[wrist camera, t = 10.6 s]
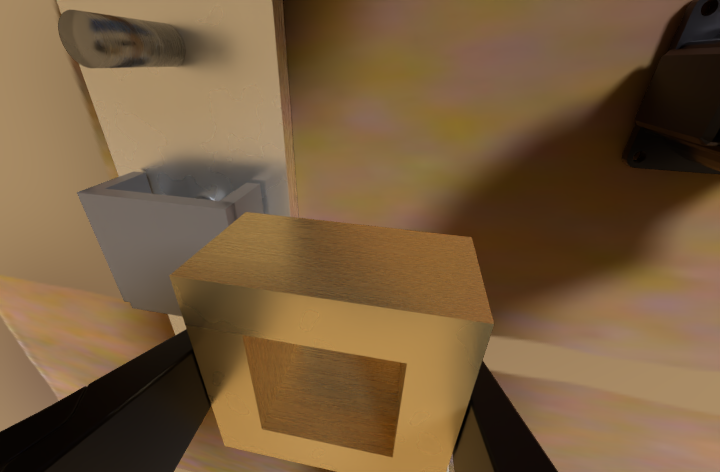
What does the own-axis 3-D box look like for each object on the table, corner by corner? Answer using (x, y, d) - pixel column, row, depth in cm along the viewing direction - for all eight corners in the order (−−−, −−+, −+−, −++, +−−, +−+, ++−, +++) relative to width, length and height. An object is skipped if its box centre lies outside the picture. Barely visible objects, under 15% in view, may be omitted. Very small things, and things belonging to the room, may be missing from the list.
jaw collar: (471, 237, 8) (494, 324, 5) (435, 390, 11) (438, 495, 8) (246, 211, 9) (169, 275, 6) (269, 360, 12) (224, 445, 9)
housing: (260, 183, 17) (225, 209, 14) (274, 294, 21) (249, 332, 18) (133, 171, 19) (76, 192, 16) (168, 277, 22) (128, 311, 19)
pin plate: (276, -93, 13) (186, -183, 8) (307, 349, 26) (280, 415, 21) (51, -84, 15) (-136, -156, 10) (186, 327, 27) (134, 385, 22)
